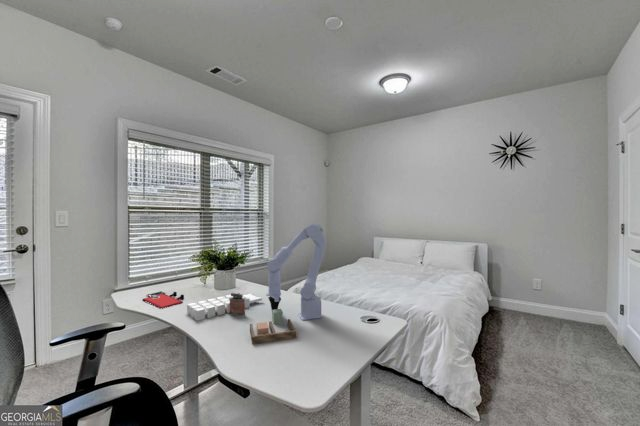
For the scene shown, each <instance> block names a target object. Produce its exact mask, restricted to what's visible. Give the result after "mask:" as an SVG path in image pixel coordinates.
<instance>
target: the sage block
mask: <svg viewBox="0 0 640 426" xmlns="http://www.w3.org/2000/svg"><path fill="white" fill-rule="evenodd" d="M271 318H272V319H271V322H272V324H273V325H275V324H277V325H278V324H283V321H284V320H283V309H281V308H278V309H274V310H272V309H271Z"/></svg>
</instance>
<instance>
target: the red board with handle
mask: <svg viewBox="0 0 640 426" xmlns="http://www.w3.org/2000/svg"><path fill="white" fill-rule="evenodd" d="M177 293H178V292H177V291H173V293H172V294H169V295H168V294H167V293H166V292H163V291H157V292H156V291H155V292H153V293H148V294H147V295H151V297H150V296H148V297H144V298H142V301H143V300H145V301H147V302H149V303H151V304H150V305H152V304H153V305H152V306H154V305H155V306H154V307H156V306H157V307H156V308H158V307H159V309H160V308H162V309H165V307H166V308H170V307H173V305H174V306H176V305H180V304H184V301H182V300H185V294H180V296H179V297H176V298H175V297H174V296H178V295H177ZM145 301H144V302H145ZM147 302H146V303H147ZM149 303H148V304H149ZM169 306H170V307H169Z"/></svg>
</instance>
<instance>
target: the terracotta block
mask: <svg viewBox="0 0 640 426" xmlns="http://www.w3.org/2000/svg"><path fill="white" fill-rule="evenodd" d="M266 333H269V334H270V329H269V324H268V322H267V321H265V322H256V335H259V334H263V335H264V334H266Z"/></svg>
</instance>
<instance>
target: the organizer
mask: <svg viewBox="0 0 640 426" xmlns="http://www.w3.org/2000/svg"><path fill="white" fill-rule="evenodd" d="M237 293H238V292H237ZM237 293H236V294H237ZM231 297H233V296H231V294H227V295H224V296H218V297H215V298H213V297H212V298H209V299H206V300H200V301H197V302H192V303H191V302H190V303H187V304H186V314H187V315H189V316H190V317H192V319H193V318H194V320H196V321H201V320H205V319H206V318H207V319H209V318H213V317H216V316H220V315H224V314H225V313H228V314H229V312H230V300H229V298H231ZM242 298H245V309H247V308H250V306H251V305H250V304H253V303H257V302H261V301H262V300H263V298H262V297H258V296H255V295H253V293H248V294H244V295H243V297H242Z"/></svg>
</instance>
